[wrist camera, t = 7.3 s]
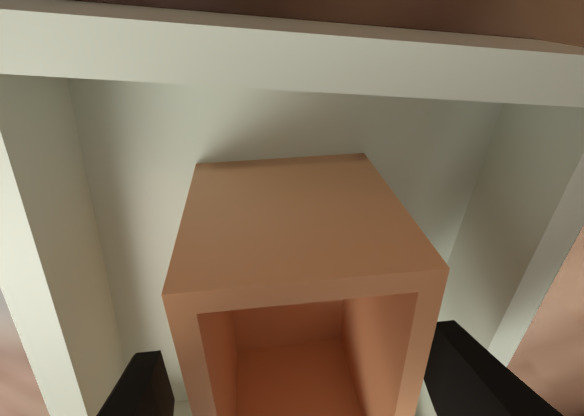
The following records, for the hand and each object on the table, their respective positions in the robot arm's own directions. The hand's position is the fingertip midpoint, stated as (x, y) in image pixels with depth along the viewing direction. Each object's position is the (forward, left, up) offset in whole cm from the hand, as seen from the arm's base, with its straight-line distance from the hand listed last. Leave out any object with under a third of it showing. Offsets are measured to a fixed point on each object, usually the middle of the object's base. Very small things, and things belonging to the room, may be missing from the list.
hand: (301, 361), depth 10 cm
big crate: (0, 0, -4) cm, 4 cm away
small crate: (0, 0, -4) cm, 4 cm away
